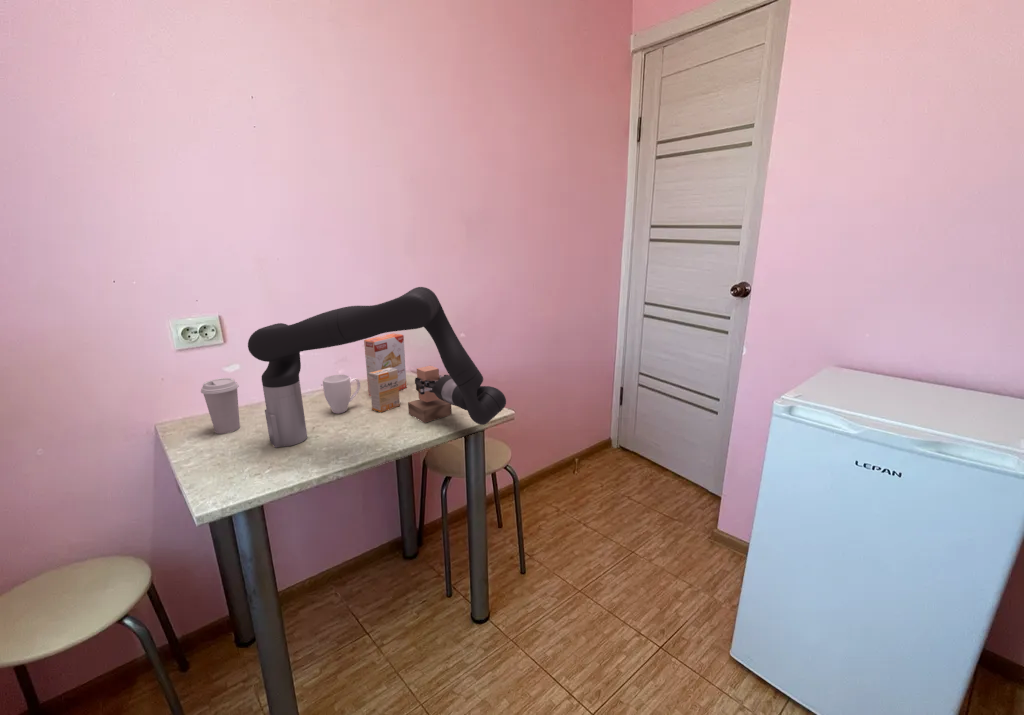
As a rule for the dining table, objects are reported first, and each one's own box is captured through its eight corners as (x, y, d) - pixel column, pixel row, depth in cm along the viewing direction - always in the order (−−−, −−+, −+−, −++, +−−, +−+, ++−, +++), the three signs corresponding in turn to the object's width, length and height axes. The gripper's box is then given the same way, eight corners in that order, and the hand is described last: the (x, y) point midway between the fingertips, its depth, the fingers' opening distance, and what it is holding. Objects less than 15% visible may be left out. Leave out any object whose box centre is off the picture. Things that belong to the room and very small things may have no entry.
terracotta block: (426, 402, 144) (424, 371, 142) (418, 398, 148) (416, 368, 146) (440, 398, 147) (438, 368, 145) (432, 394, 151) (430, 365, 149)
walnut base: (424, 422, 142) (423, 410, 141) (408, 413, 150) (407, 402, 149) (451, 414, 149) (451, 403, 148) (435, 406, 156) (434, 395, 155)
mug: (333, 417, 147) (329, 383, 144) (322, 411, 153) (318, 378, 150) (367, 407, 156) (364, 375, 153) (355, 401, 161) (352, 370, 158)
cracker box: (379, 398, 164) (374, 341, 159) (368, 395, 167) (362, 339, 162) (408, 388, 175) (404, 334, 170) (396, 385, 179) (392, 332, 173)
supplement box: (380, 413, 151) (377, 374, 147) (371, 410, 154) (368, 372, 150) (400, 405, 157) (397, 368, 154) (391, 403, 160) (388, 366, 157)
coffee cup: (212, 425, 142) (203, 379, 138) (247, 421, 146) (239, 375, 142) (205, 438, 134) (195, 389, 130) (243, 432, 137) (234, 384, 133)
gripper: (472, 374, 139) (442, 363, 152) (431, 384, 130) (402, 371, 143) (473, 397, 141) (443, 385, 154) (432, 409, 132) (404, 394, 145)
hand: (424, 378), depth 148 cm, fingers closed on terracotta block, 5 cm apart
